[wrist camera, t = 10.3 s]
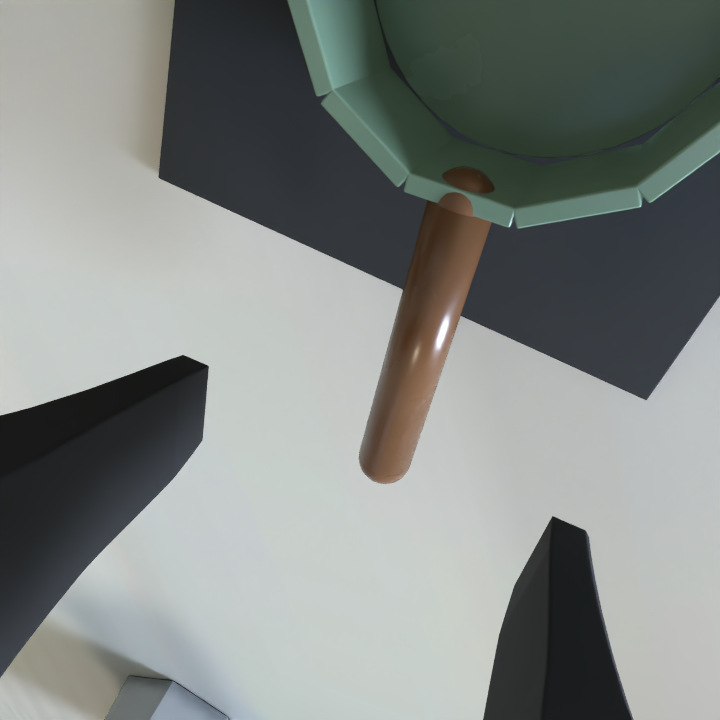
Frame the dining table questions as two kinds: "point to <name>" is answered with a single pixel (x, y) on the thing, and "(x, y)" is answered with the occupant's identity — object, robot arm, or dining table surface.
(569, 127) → the frying pan
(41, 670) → the dining table surface
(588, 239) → the mat
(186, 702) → the coffee maker
